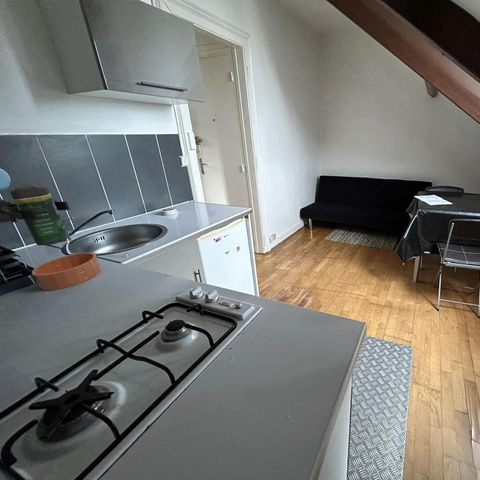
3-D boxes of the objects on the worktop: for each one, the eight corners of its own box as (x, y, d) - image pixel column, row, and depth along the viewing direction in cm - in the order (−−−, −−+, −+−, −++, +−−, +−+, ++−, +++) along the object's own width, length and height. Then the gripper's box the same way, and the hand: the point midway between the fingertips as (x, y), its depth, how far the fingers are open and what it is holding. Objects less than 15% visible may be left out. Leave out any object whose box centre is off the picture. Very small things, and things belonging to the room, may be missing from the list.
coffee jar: (69, 241, 84) (43, 183, 77) (35, 248, 79) (3, 188, 72) (70, 233, 91) (46, 180, 84) (39, 240, 86) (10, 184, 79)
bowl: (31, 296, 80) (22, 280, 77) (49, 274, 93) (42, 260, 90) (96, 279, 87) (90, 265, 85) (104, 261, 100) (99, 248, 97)
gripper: (35, 212, 95) (89, 211, 91) (-48, 234, 75) (16, 233, 72) (25, 192, 92) (80, 190, 89) (-64, 209, 72) (2, 207, 69)
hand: (51, 209), depth 80 cm, fingers closed on coffee jar, 8 cm apart
